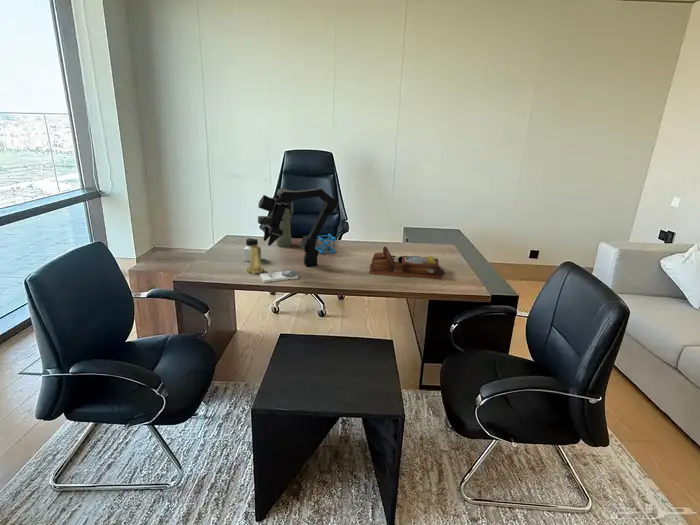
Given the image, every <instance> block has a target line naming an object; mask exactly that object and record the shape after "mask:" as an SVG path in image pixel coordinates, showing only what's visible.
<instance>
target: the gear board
mask: <svg viewBox="0 0 700 525" xmlns="http://www.w3.org/2000/svg"><path fill="white" fill-rule="evenodd" d="M297 273H298V272H297V271H295V270H294V269H291V270H290V269H286V270H282V271H276V272H272V271H268V272H265V273H263V272H262V273H259V277H260V278H262V279H261V280H262V281H263V282H262V283H269V282H271V281H272V282H278V281H279V280H281V281H289V280H288V279H291V280H297V279H299V275H297ZM279 282H280V281H279Z"/></svg>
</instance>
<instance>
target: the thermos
mask: <svg viewBox="0 0 700 525" xmlns="http://www.w3.org/2000/svg"><path fill="white" fill-rule="evenodd" d="M281 190H289V189H288V188H285V187H281V188H279V189H278V190H277V193H276V195H277V194H278V193H279V191H281ZM275 203H277V202H275ZM282 203H283V202H282ZM278 204H279V203H278ZM283 204H287V203H283ZM288 204H289V207H290V209H287V208H286V210H285V213H284V215H283V218H282V219H283V221H281V223H280V229H282V231H283V235H282V236H281V237H279V238H278V239H277V240H276V246H277V247H279V248H289V247H291V246H292V232H291V218H292V215H293V214H294V201H292V202H289V203H288ZM288 246H289V247H288Z"/></svg>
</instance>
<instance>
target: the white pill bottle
mask: <svg viewBox="0 0 700 525" xmlns="http://www.w3.org/2000/svg"><path fill="white" fill-rule="evenodd" d="M258 244H259V243H258V239H257V238H255V237H248V238H247V239H246V241H245V247H243V261H244V262H250V253H251V246H255V245H256V246H259V245H258ZM261 248H262V247H261V246H259V252H260V258H262V249H261Z"/></svg>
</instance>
